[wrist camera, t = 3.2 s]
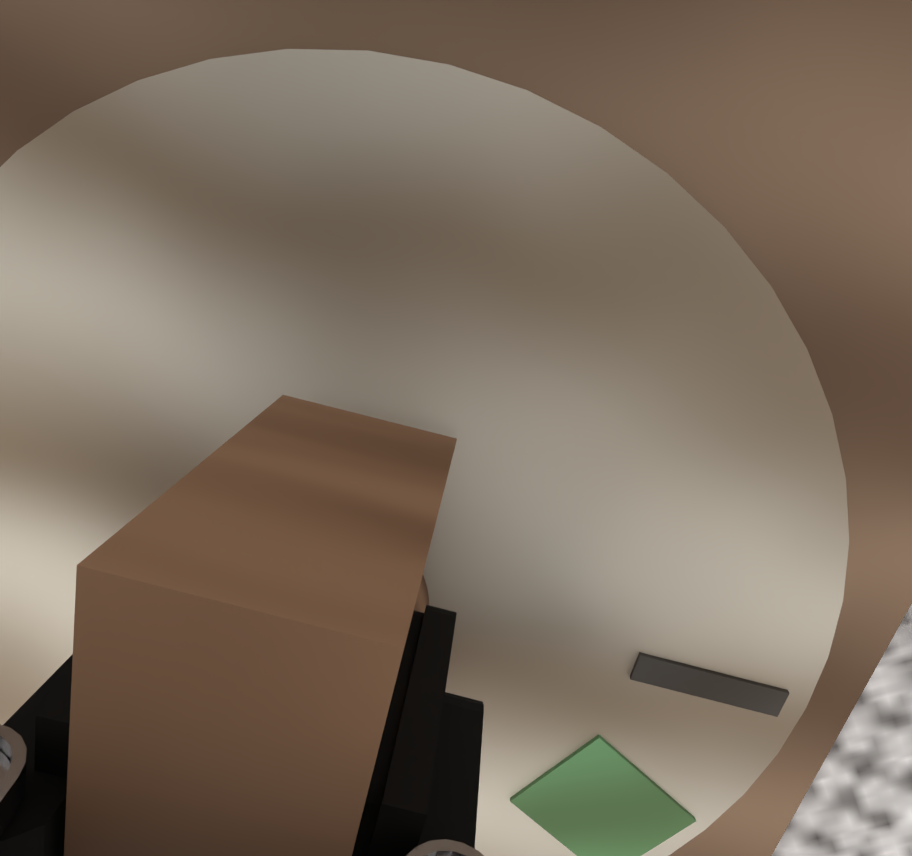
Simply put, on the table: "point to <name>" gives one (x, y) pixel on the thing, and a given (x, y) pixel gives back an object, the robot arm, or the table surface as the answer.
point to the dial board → (498, 351)
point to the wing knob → (251, 641)
